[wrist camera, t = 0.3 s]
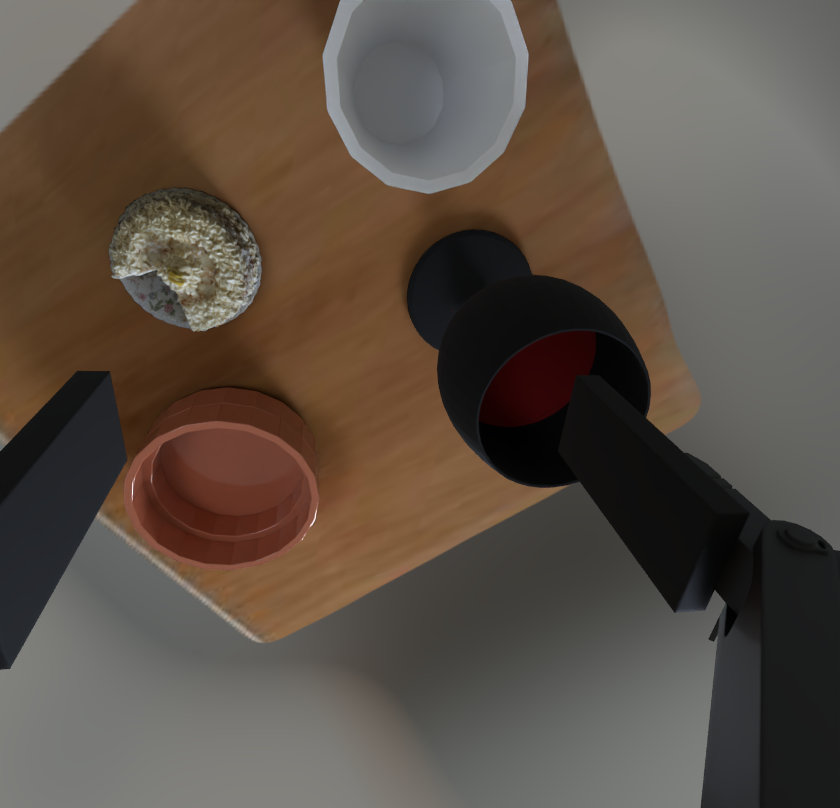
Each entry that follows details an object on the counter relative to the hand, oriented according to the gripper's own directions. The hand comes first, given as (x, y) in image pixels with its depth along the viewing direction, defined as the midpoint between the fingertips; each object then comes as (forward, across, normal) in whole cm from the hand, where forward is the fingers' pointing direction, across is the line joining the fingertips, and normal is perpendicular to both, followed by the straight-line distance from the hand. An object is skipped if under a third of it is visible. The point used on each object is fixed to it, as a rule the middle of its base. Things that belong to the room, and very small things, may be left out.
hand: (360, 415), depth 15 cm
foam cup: (+27, +4, +9) cm, 29 cm away
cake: (+27, -10, -2) cm, 29 cm away
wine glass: (+27, +11, -4) cm, 30 cm away
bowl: (+27, -8, -19) cm, 34 cm away
